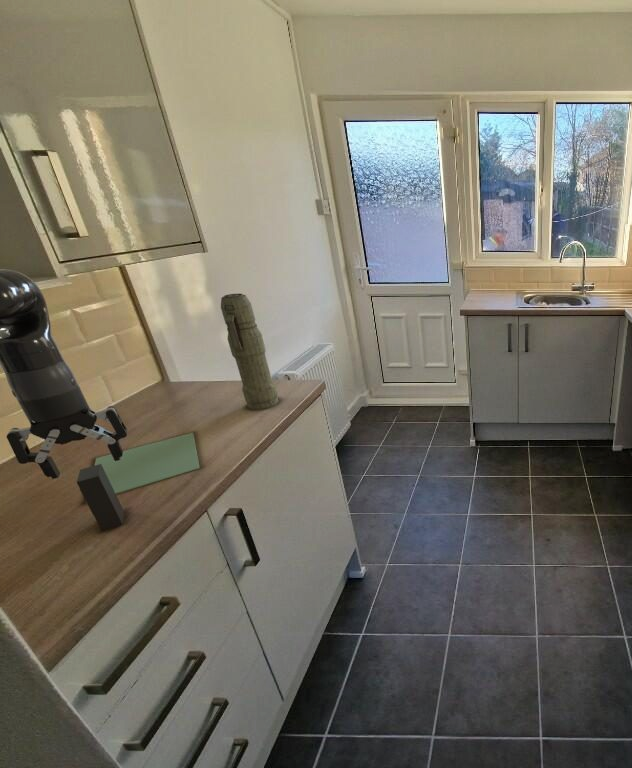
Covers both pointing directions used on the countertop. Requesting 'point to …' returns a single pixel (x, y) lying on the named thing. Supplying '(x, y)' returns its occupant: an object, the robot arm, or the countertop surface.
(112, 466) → the mat
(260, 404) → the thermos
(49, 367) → the robot arm
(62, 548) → the countertop surface
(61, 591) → the countertop surface
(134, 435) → the countertop surface
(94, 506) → the dark grey tall block
